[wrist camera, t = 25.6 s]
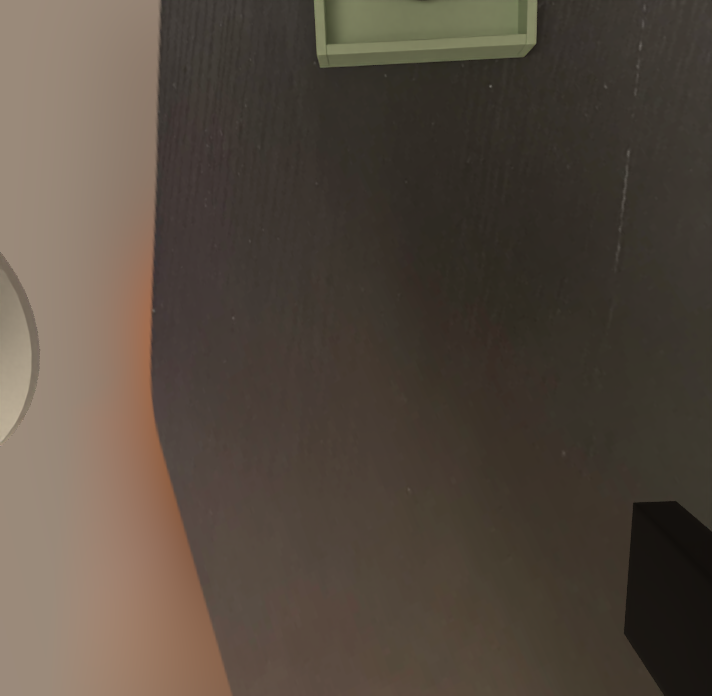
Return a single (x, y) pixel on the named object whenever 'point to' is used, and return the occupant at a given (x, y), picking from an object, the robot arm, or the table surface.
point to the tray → (422, 30)
